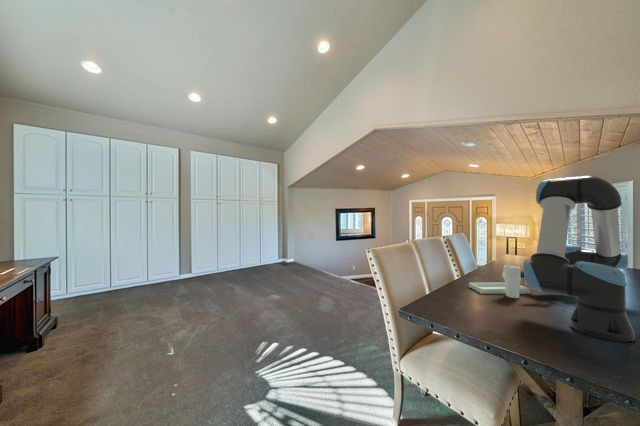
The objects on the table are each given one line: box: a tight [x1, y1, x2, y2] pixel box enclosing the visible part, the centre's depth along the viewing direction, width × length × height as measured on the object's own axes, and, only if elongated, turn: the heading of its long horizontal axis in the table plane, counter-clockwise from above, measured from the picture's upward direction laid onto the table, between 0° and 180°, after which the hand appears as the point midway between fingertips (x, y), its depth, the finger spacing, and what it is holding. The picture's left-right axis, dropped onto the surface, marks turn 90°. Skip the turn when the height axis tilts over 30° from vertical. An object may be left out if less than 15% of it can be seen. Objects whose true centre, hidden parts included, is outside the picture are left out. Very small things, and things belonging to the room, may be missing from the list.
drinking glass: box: [503, 264, 521, 299], centre depth 124 cm, size 7×7×15 cm
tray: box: [468, 281, 531, 295], centre depth 134 cm, size 24×12×2 cm, turn 88°
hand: (513, 278), depth 124 cm, fingers open, 13 cm apart
